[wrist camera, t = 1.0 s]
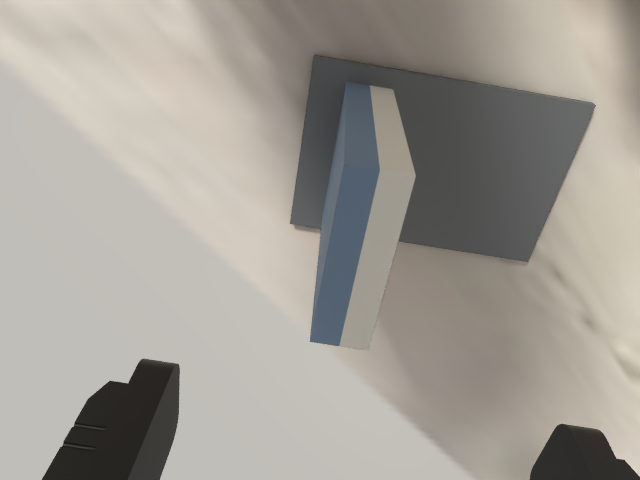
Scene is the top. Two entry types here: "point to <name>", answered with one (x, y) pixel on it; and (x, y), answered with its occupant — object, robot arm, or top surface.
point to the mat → (452, 155)
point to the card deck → (361, 216)
